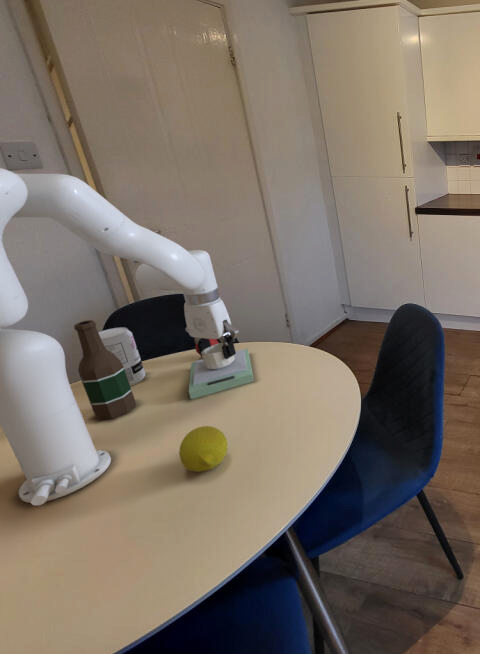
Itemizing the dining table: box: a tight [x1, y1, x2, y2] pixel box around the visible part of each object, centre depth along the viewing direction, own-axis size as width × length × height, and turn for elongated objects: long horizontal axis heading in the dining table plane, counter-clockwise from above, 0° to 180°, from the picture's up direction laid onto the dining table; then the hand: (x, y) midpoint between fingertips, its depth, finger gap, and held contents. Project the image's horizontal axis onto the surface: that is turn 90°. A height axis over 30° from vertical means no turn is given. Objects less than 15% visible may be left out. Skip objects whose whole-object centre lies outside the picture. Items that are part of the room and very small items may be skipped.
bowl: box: [200, 342, 235, 369], centre depth 116 cm, size 7×7×5 cm
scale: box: [188, 348, 255, 400], centre depth 117 cm, size 18×14×3 cm
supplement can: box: [98, 326, 146, 387], centre depth 113 cm, size 8×8×15 cm
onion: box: [194, 339, 220, 356], centre depth 126 cm, size 6×6×8 cm
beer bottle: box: [73, 319, 137, 421], centre depth 99 cm, size 8×8×24 cm
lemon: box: [178, 425, 228, 473], centre depth 84 cm, size 11×8×8 cm
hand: (218, 354), depth 116 cm, fingers closed on bowl, 7 cm apart
